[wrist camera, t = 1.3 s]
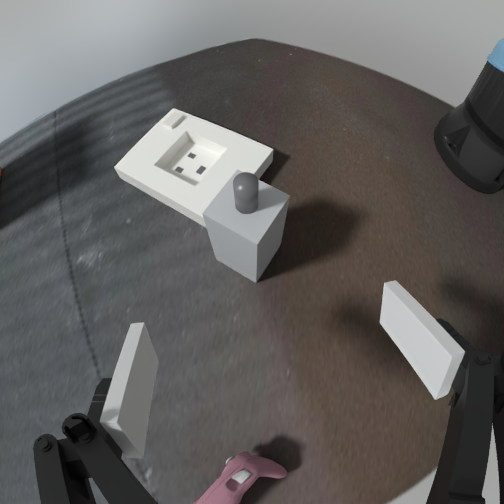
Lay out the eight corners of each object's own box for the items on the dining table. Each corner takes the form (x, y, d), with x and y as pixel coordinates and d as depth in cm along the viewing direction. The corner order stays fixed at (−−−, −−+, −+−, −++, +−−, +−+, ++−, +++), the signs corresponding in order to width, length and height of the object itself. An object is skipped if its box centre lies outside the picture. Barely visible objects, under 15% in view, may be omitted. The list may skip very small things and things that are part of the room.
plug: (280, 245, 34) (294, 173, 22) (256, 283, 32) (257, 226, 20) (236, 220, 35) (228, 142, 23) (211, 256, 33) (188, 188, 21)
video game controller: (259, 445, 27) (229, 443, 22) (293, 469, 24) (270, 474, 19) (206, 507, 24) (167, 513, 19) (236, 532, 21) (202, 546, 16)
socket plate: (272, 161, 38) (273, 146, 35) (217, 234, 34) (214, 221, 31) (176, 120, 41) (172, 105, 38) (120, 178, 37) (112, 164, 35)
